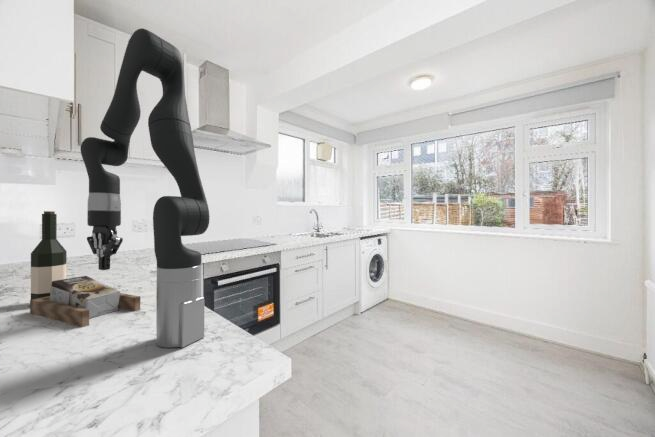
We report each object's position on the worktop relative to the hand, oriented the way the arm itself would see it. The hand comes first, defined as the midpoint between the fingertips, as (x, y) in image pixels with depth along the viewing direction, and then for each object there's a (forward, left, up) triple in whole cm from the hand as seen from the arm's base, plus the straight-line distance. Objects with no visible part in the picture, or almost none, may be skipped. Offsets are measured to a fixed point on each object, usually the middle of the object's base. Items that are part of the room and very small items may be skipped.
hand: (104, 269), depth 81 cm
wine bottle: (+28, 0, -13) cm, 31 cm away
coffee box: (0, 0, -10) cm, 10 cm away
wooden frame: (+7, 0, -13) cm, 15 cm away
